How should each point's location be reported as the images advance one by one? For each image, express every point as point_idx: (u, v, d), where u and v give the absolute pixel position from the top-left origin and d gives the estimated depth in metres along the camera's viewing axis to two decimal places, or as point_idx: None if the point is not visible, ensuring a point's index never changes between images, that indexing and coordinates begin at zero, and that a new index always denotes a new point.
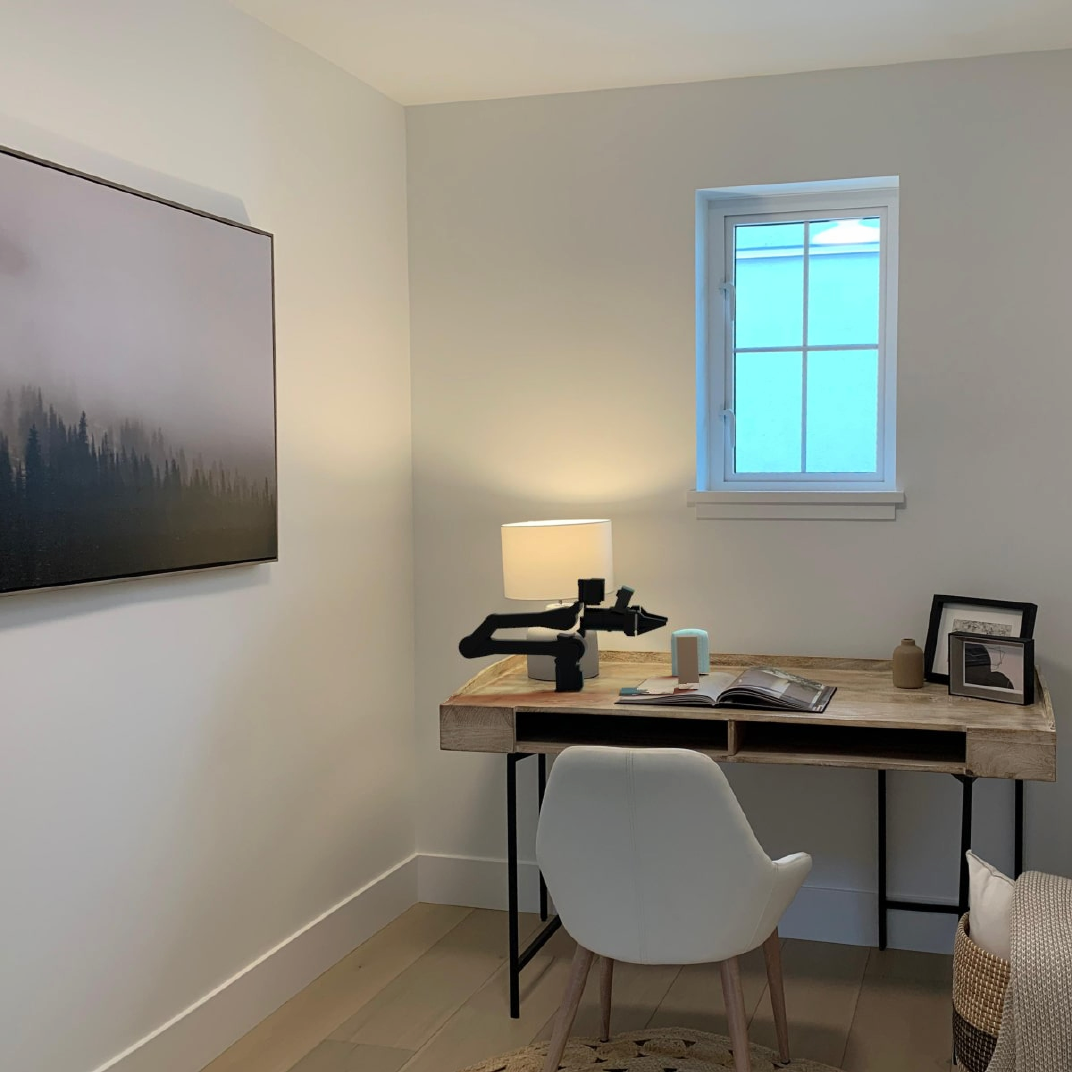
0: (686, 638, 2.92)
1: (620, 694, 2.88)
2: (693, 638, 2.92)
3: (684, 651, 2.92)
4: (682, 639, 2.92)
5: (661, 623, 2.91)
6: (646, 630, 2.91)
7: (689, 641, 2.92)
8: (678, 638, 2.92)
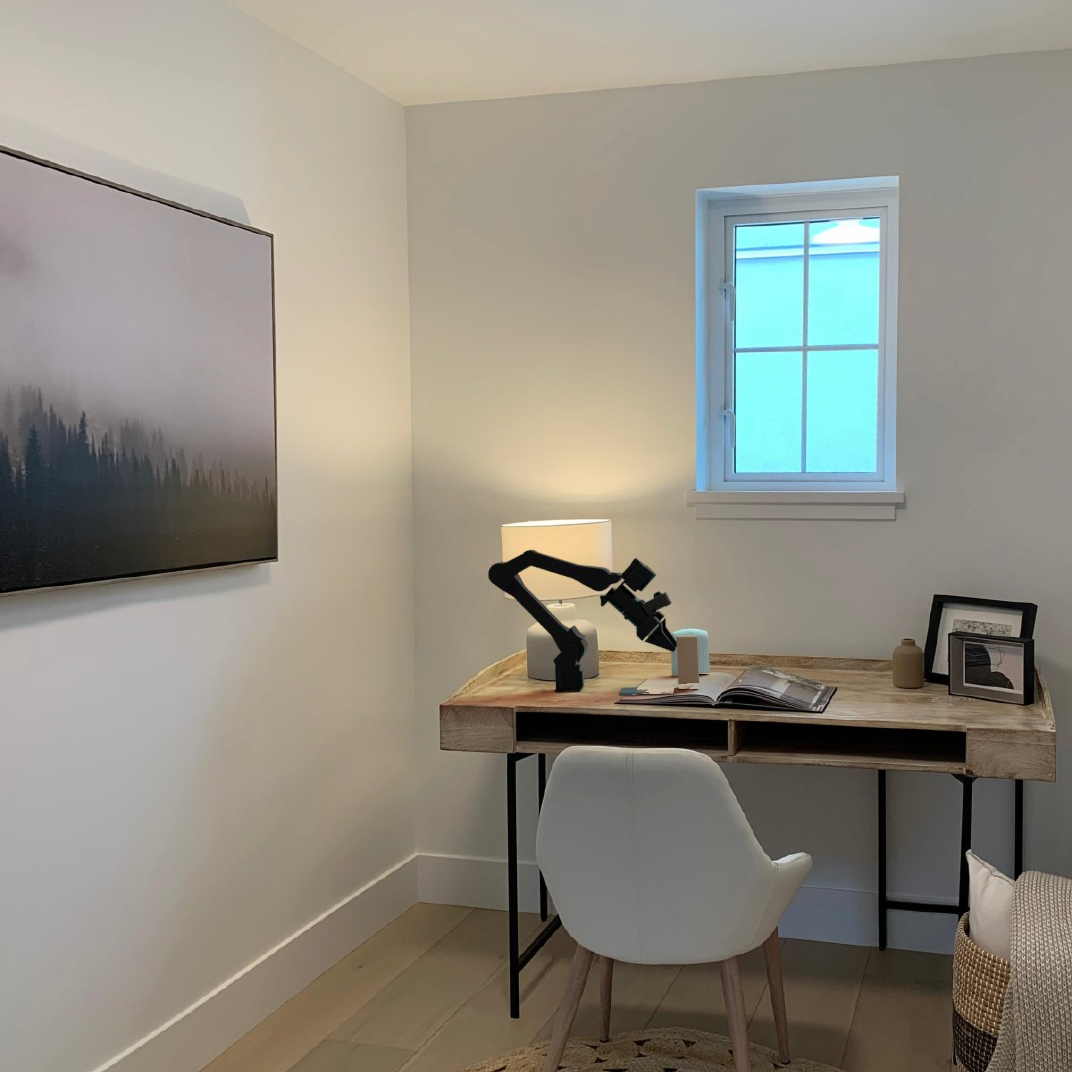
0: (686, 638, 2.92)
1: (620, 694, 2.88)
2: (693, 638, 2.92)
3: (684, 651, 2.92)
4: (682, 639, 2.92)
5: (671, 647, 2.90)
6: (654, 643, 2.90)
7: (689, 641, 2.92)
8: (678, 638, 2.92)
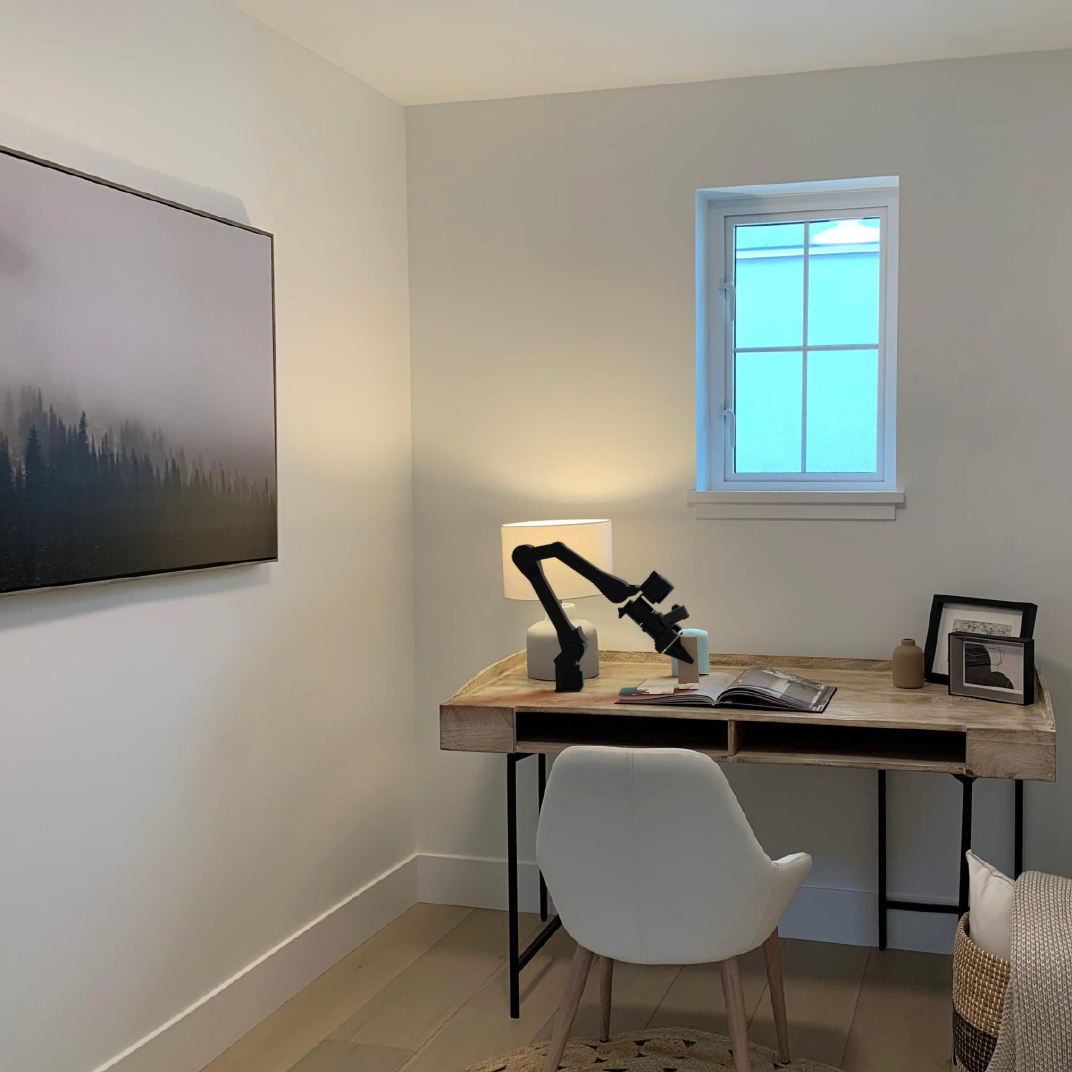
0: (686, 638, 2.92)
1: (620, 694, 2.88)
2: (693, 638, 2.92)
3: None
4: (682, 639, 2.92)
5: (689, 659, 2.91)
6: (673, 655, 2.91)
7: (689, 641, 2.92)
8: None
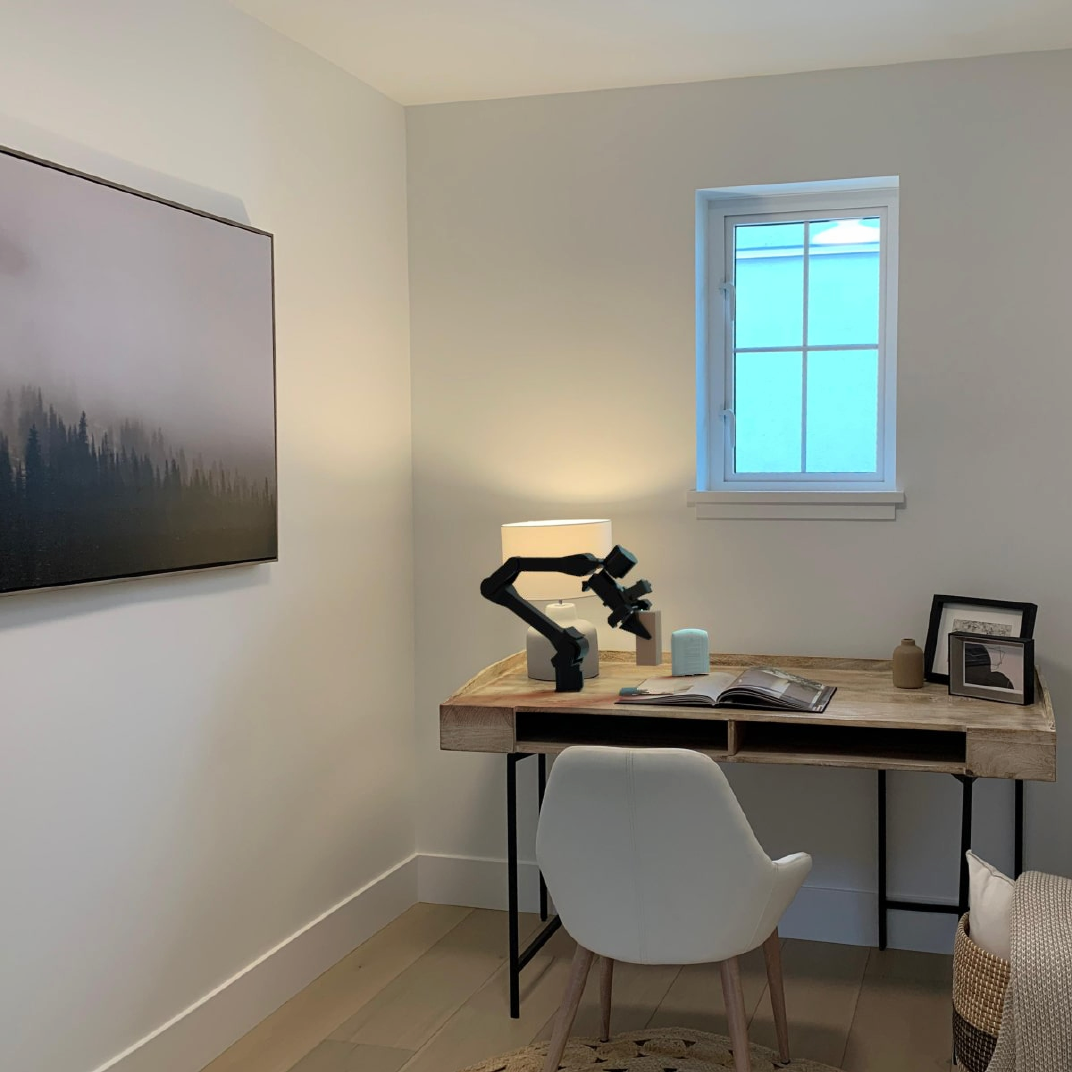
0: (644, 613, 2.89)
1: (620, 694, 2.88)
2: (651, 614, 2.88)
3: None
4: (641, 614, 2.89)
5: (646, 635, 2.88)
6: (630, 630, 2.89)
7: (647, 617, 2.89)
8: None
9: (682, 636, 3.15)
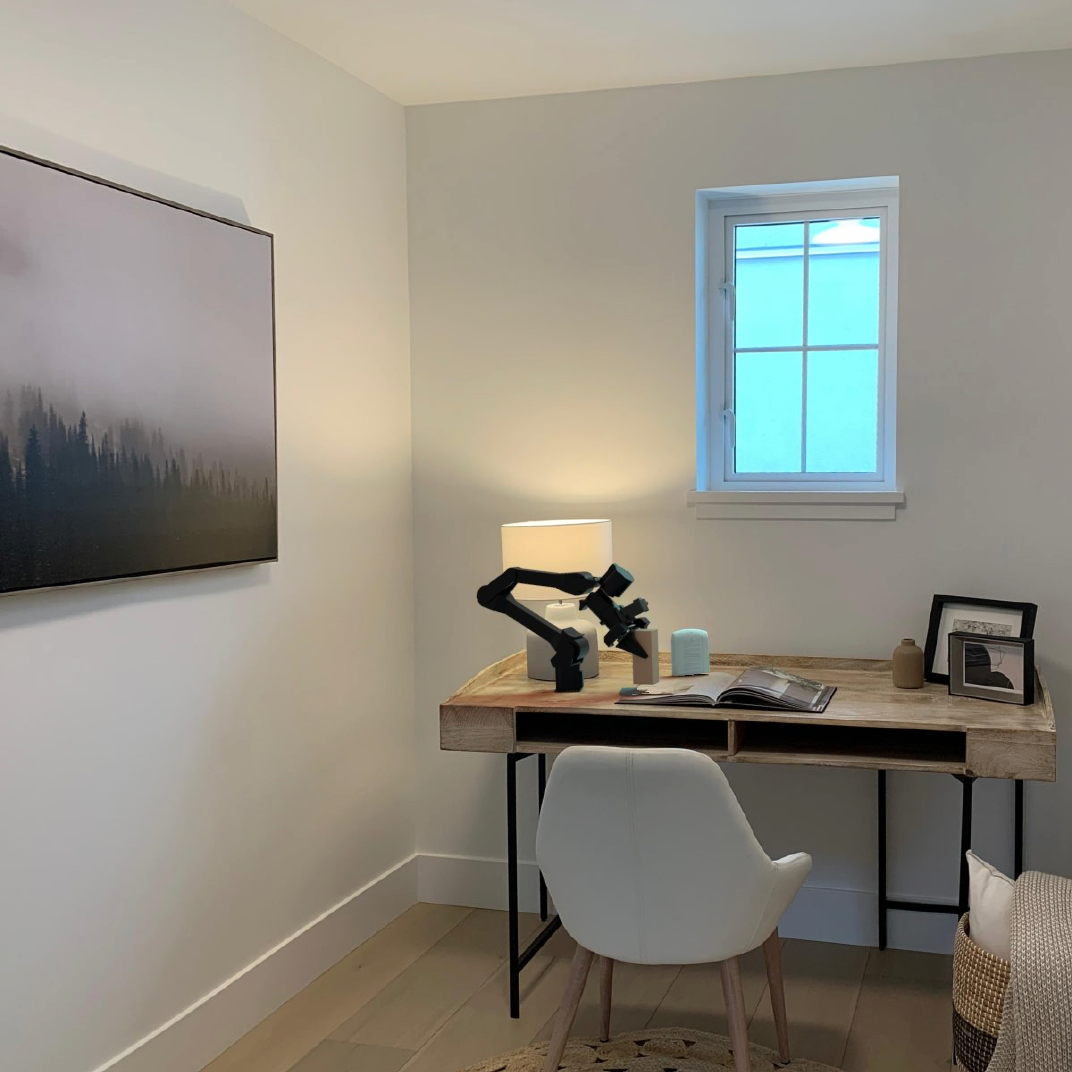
0: (641, 632, 2.89)
1: (620, 694, 2.88)
2: (647, 632, 2.88)
3: None
4: (637, 633, 2.89)
5: (643, 654, 2.88)
6: (626, 649, 2.89)
7: (644, 635, 2.88)
8: None
9: (682, 636, 3.15)
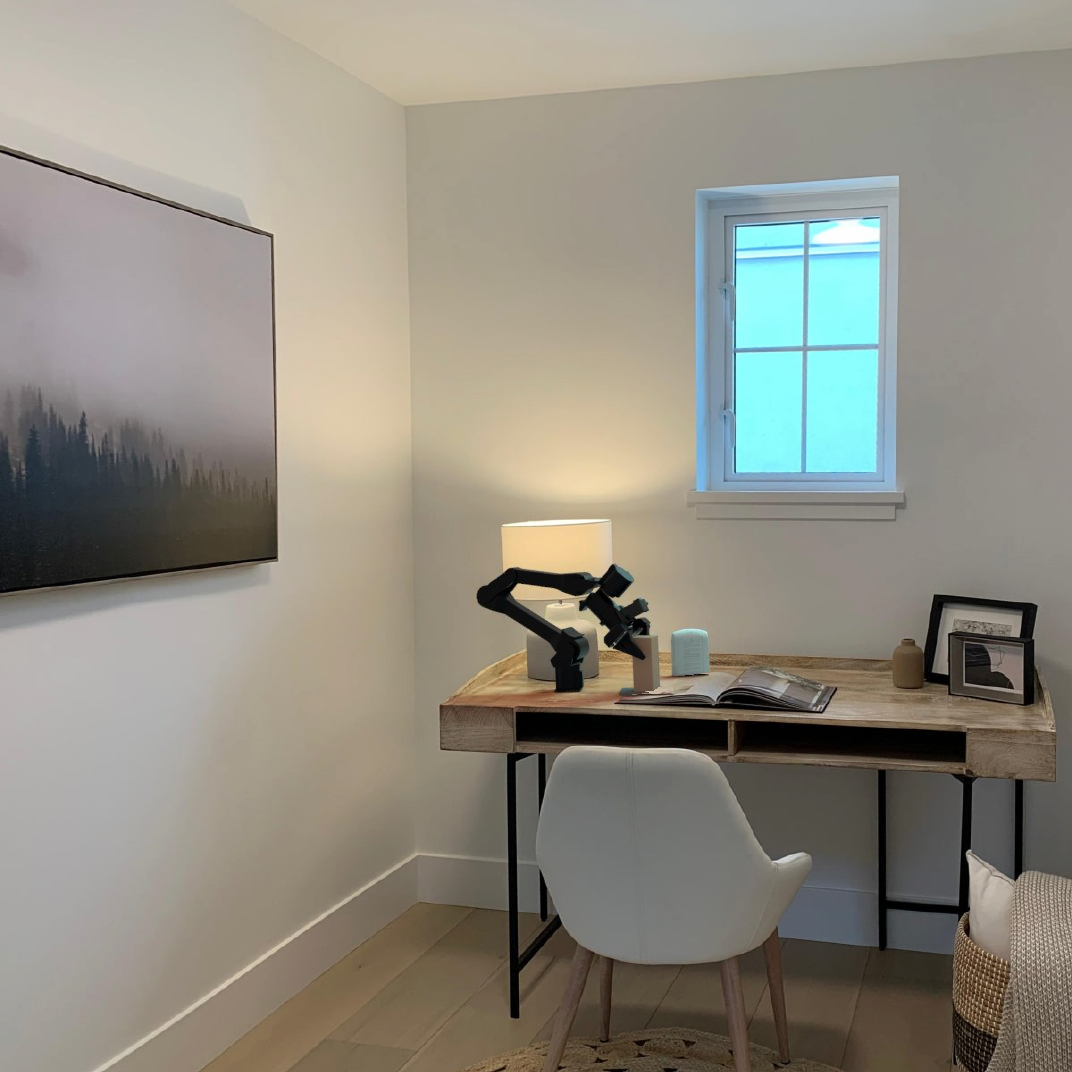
0: (641, 639, 2.89)
1: (620, 694, 2.88)
2: (647, 639, 2.88)
3: None
4: (637, 640, 2.89)
5: (640, 655, 2.86)
6: (624, 650, 2.87)
7: (644, 642, 2.89)
8: (633, 639, 2.90)
9: (682, 636, 3.15)
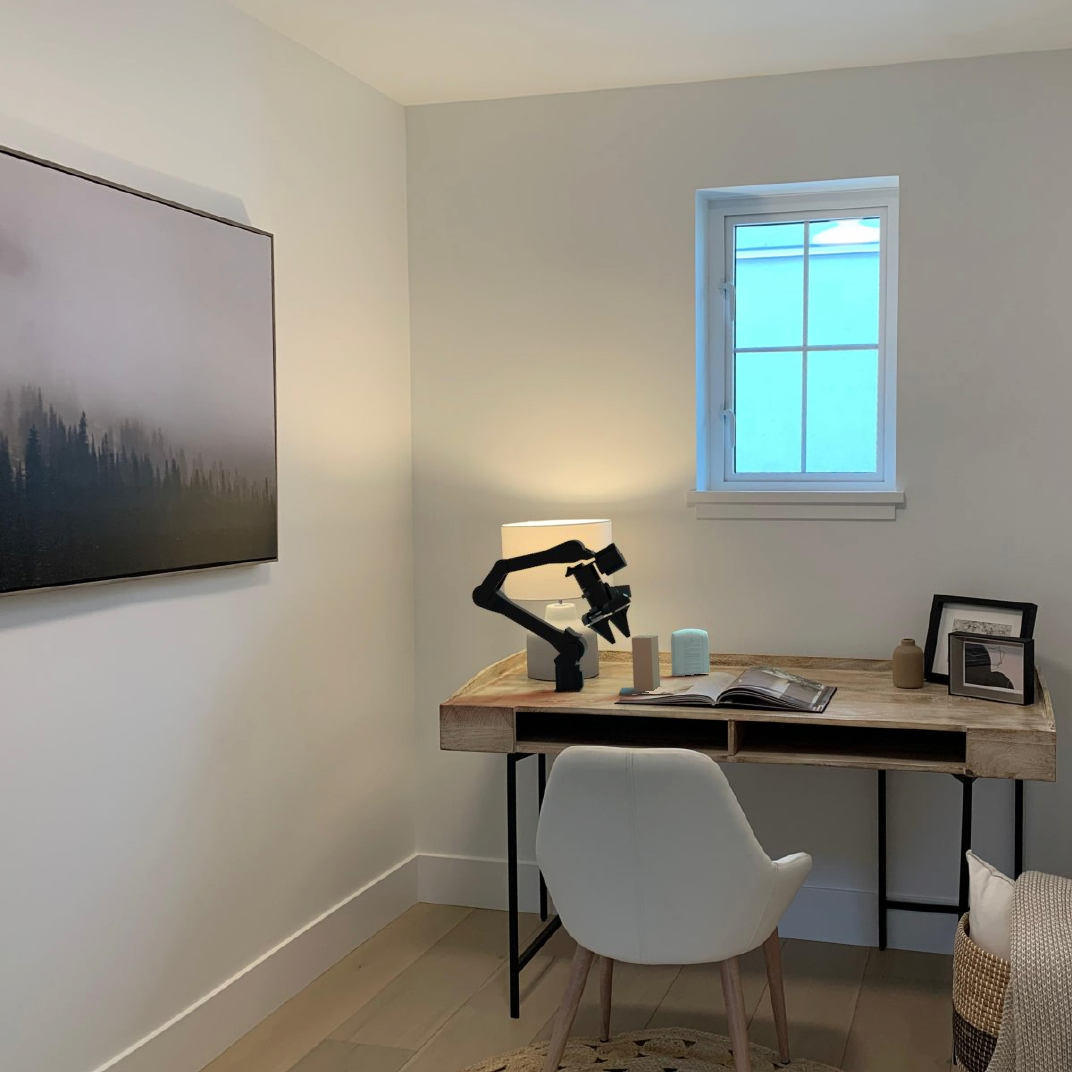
0: (641, 639, 2.89)
1: (620, 694, 2.88)
2: (647, 639, 2.88)
3: (639, 652, 2.89)
4: (637, 640, 2.89)
5: (627, 632, 2.93)
6: (616, 622, 2.91)
7: (644, 642, 2.89)
8: (633, 639, 2.90)
9: (682, 636, 3.15)
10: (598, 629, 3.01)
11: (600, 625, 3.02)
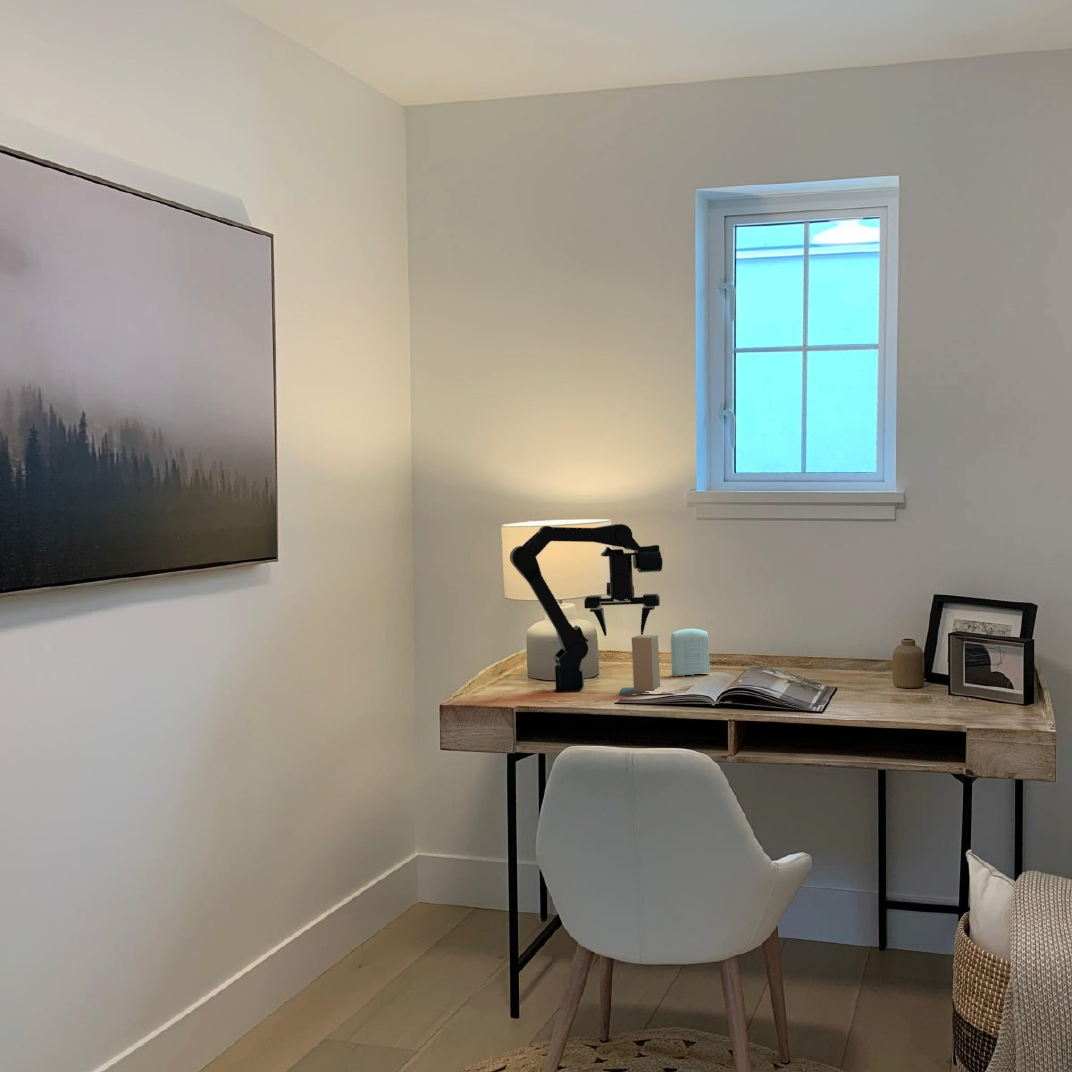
0: (641, 639, 2.89)
1: (620, 694, 2.88)
2: (647, 639, 2.88)
3: (639, 652, 2.89)
4: (637, 640, 2.89)
5: None
6: None
7: (644, 642, 2.89)
8: (633, 639, 2.90)
9: (682, 636, 3.15)
10: (602, 616, 3.01)
11: (602, 613, 3.02)
